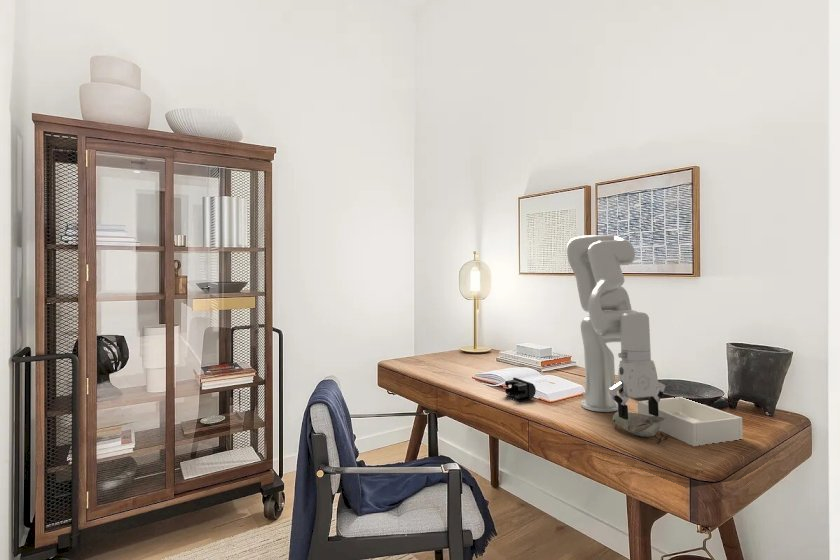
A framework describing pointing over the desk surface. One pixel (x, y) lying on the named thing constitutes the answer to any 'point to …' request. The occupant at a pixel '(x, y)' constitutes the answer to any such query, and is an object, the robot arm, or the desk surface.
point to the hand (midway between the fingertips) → (638, 416)
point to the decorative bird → (639, 424)
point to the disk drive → (718, 403)
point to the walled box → (695, 421)
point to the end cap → (520, 390)
